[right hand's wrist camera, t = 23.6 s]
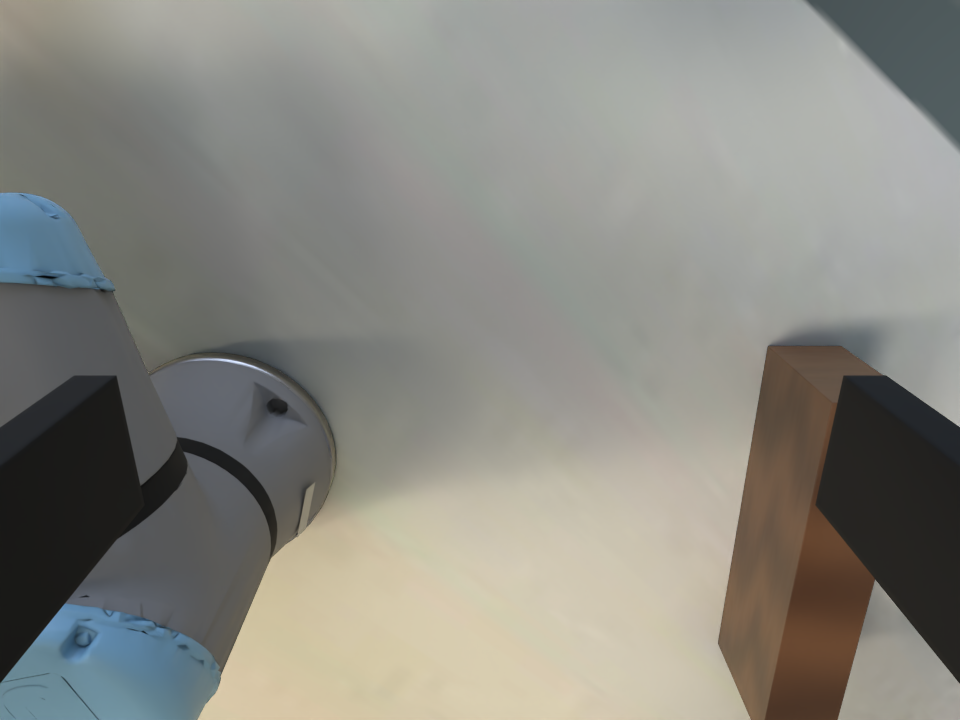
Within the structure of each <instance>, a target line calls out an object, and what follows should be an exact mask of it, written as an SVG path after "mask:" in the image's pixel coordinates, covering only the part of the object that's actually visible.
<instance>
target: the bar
mask: <svg viewBox="0 0 960 720" xmlns="http://www.w3.org/2000/svg"><path fill="white" fill-rule="evenodd" d="M843 375H882V374H880V373H879V372H877V371H876V370H875V369H873V368H872V367H870V366H869V365H868V364H866V363H865V362H863V361H862V360H860V359H859V358H858V357H856V356H855V355H853V354H852V353H850V352H849V351H848V350H846V349H845V348H843V347H842V346H768V349H767V355H766V361H765V367H764V373H763V379H762V385H761V391H760V397H759V403H758V408H757V414H756V420H755V426H754V432H753V438H752V444H751V450H750V456H749V462H748V468H747V474H746V480H745V486H744V492H743V498H742V504H741V510H740V516H739V522H738V528H737V533H736V539H735V545H734V551H733V557H732V563H731V569H730V575H729V581H728V587H727V593H726V599H725V605H724V611H723V617H722V623H721V629H720V635H719V641H718V644H719V647H720V649H721V651H722V653H723V656H724V658H725V660H726V663H727V665H728V667H729V670H730V672H731V674H732V677H733V679H734V681H735V684H736V686H737V688H738V691H739V693H740V695H741V697H742V700H743V702H744V704H745V707H746V709H747V711H748V714H749V716H750V718H751V720H838V716H839V712H840V709H841V705H842V701H843V697H844V694H845V690H846V686H847V682H848V679H849V675H850V671H851V667H852V664H853V660H854V656H855V652H856V649H857V645H858V641H859V637H860V634H861V630H862V626H863V622H864V619H865V615H866V611H867V607H868V604H869V600H870V596H871V592H872V589H873V585H874V581H875V578H874V577H873V576H872V574H871V573H870V572H869V571H868V570H867V568H866V567H865V566H864V565H863V563H862V562H861V561H860V560H859V558H858V557H857V556H856V555H855V554H854V552H853V551H852V550H851V549H850V547H849V546H848V545H847V544H846V542H845V541H844V540H843V539H842V537H841V536H840V535H839V534H838V533H837V531H836V530H835V529H834V528H833V526H832V525H831V524H830V523H829V521H828V520H827V519H826V518H825V516H824V515H823V514H822V513H821V512H820V510H819V509H818V508H817V507H816V505H815V504H816V499H817V495H818V490H819V486H820V481H821V476H822V472H823V467H824V463H825V458H826V453H827V449H828V444H829V440H830V435H831V430H832V426H833V421H834V416H835V412H836V407H837V403H838V398H839V393H840V389H841V384H842V380H843Z"/></svg>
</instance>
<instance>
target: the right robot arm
mask: <svg viewBox="0 0 960 720" xmlns="http://www.w3.org/2000/svg"><path fill="white" fill-rule="evenodd" d="M113 291H115V288H114V285H113V283H112V282H111V281H110V280H109V279H107V278H105V277H104V275H103V273H102V271H101V269H100V268H99V266H98V264H97V262H96V260H95V258H94V257H93V255H92V253H91V251H90V249H89V247H88V245H87V243H86V241H85V239H84V237H83V235H82V233H81V231H80V229H79V227H78V225H77V224H76V222H75V221H74V219H73V218H72V217H71V216H70V214H69V213H68V212H67V211H65V210H64V209H63V208H62V207H61V206H59V205H57V204H56V203H54V202H52V201H51V200H48V199H46V198H44V197H40V196H37V195H33V194H27V193H0V720H197V719H198V717H199V715H200V713H201V712H202V710H203V708H204V706H205V704H206V703H207V702H208V701H209V700H210V698H211V697H212V696H213V695H214V694H215V693H216V691H217V689H218V686H219V684H220V679H221V677H220V676H221V674H222V672H223V669H224V667H225V664H226V662H227V660H228V657H229V655H230V653H231V650H232V648H233V646H234V643H235V641H236V639H237V636H238V634H239V632H240V629H241V627H242V625H243V622H244V620H245V617H246V615H247V613H248V610H249V608H250V606H251V603H252V601H253V599H254V596H255V594H256V592H257V589H258V587H259V585H260V582H261V580H262V578H263V575H264V573H265V570H266V568H267V566H268V563H269V561H270V559H271V557H273V556H274V555H275V554H276V553H277V552H278V551H279V550H280V549H281V548H282V547H283V546H284V545H285V544H287V543H288V542H290V541H291V540H293V539H294V538H295V537H298V536H299V535H300V534H301V533H302V532H303V531H304V530H305V529H306V528H307V526H308V525H309V524H310V523H311V522H312V520H313V519H314V518H315V516H316V515H317V513H318V512H319V510H320V509H321V507H322V505H323V504H324V501H325V499H326V497H327V495H328V492H329V489H330V487H331V484H332V481H333V477H334V472H335V462H336V459H335V447H334V441H333V437H332V433H331V431H330V428H329V425H328V423H327V421H326V419H325V417H324V415H323V413H322V412H321V410H320V408H319V407H318V405H317V404H316V403H315V402H314V400H313V399H312V398H311V397H310V396H309V394H308V393H307V392H306V391H305V390H304V389H303V388H302V387H301V386H299V385H298V384H297V383H296V382H295V381H293V380H292V379H291V378H289V377H288V376H287V375H285V374H284V373H282V372H280V371H279V370H277V369H275V368H273V367H271V366H269V365H267V364H265V363H262V362H260V361H257V360H254V359H251V358H248V357H244V356H240V355H235V354H227V353H200V354H193V355H188V356H184V357H180V358H178V359H175V360H172V361H170V362H168V363H166V364H163V365H162V366H160V367H158V368H157V369H155V370H154V371H152V372H151V373H150V374H148V372H147V370H146V368H145V365H144V363H143V361H142V358H141V356H140V354H139V352H138V349H137V347H136V345H135V342H134V340H133V338H132V335H131V333H130V331H129V329H128V326H127V324H126V322H125V319H124V317H123V315H122V313H121V310H120V308H119V306H118V303H117V301H116V299H115V297H114V294H113ZM815 505H816V507H817V508H818V509H819V510H820V512H821V513H822V514H823V515H824V516H825V518H826V519H827V520H828V521H829V523H830V524H831V525H832V526H833V528H834V529H835V530H836V531H837V533H838V534H839V535H840V536H841V537H842V539H843V540H844V541H845V542H846V544H847V545H848V546H849V547H850V549H851V550H852V551H853V552H854V554H855V555H856V556H857V557H858V558H859V560H860V561H861V562H862V563H863V565H864V566H865V567H866V568H867V570H868V571H869V572H870V573H871V574H872V576H873V577H874V578H875V579H876V581H877V582H878V583H879V584H880V586H881V587H882V588H883V589H884V591H885V592H886V593H887V594H888V595H889V597H890V598H891V599H892V600H893V602H894V603H895V604H896V605H897V607H898V608H899V609H900V610H901V612H902V613H903V614H904V615H905V616H906V618H907V619H908V620H909V621H910V623H911V624H912V625H913V626H914V628H915V629H916V630H917V631H918V633H919V634H920V635H921V636H922V637H923V639H924V640H925V641H926V642H927V644H928V645H929V646H930V647H931V649H932V650H933V651H934V652H935V654H936V655H937V656H938V657H939V658H940V660H941V661H942V662H943V663H944V665H945V666H946V667H947V668H948V670H949V671H950V672H951V673H952V674H953V676H954V677H955V678H956V679H957V681H958V682H959V683H960V427H959V426H957V425H956V424H954V423H953V422H952V421H950V420H949V419H947V418H946V417H944V416H943V415H942V414H940V413H939V412H937V411H936V410H934V409H933V408H932V407H930V406H929V405H927V404H926V403H924V402H923V401H922V400H920V399H919V398H917V397H916V396H914V395H913V394H912V393H910V392H909V391H907V390H906V389H904V388H903V387H902V386H900V385H899V384H897V383H896V382H894V381H893V380H892V379H890V378H889V377H887V376H886V375H843V380H842V384H841V389H840V393H839V398H838V403H837V407H836V412H835V416H834V421H833V426H832V430H831V435H830V440H829V444H828V449H827V453H826V458H825V463H824V467H823V472H822V476H821V481H820V486H819V490H818V495H817V499H816V504H815Z"/></svg>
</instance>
